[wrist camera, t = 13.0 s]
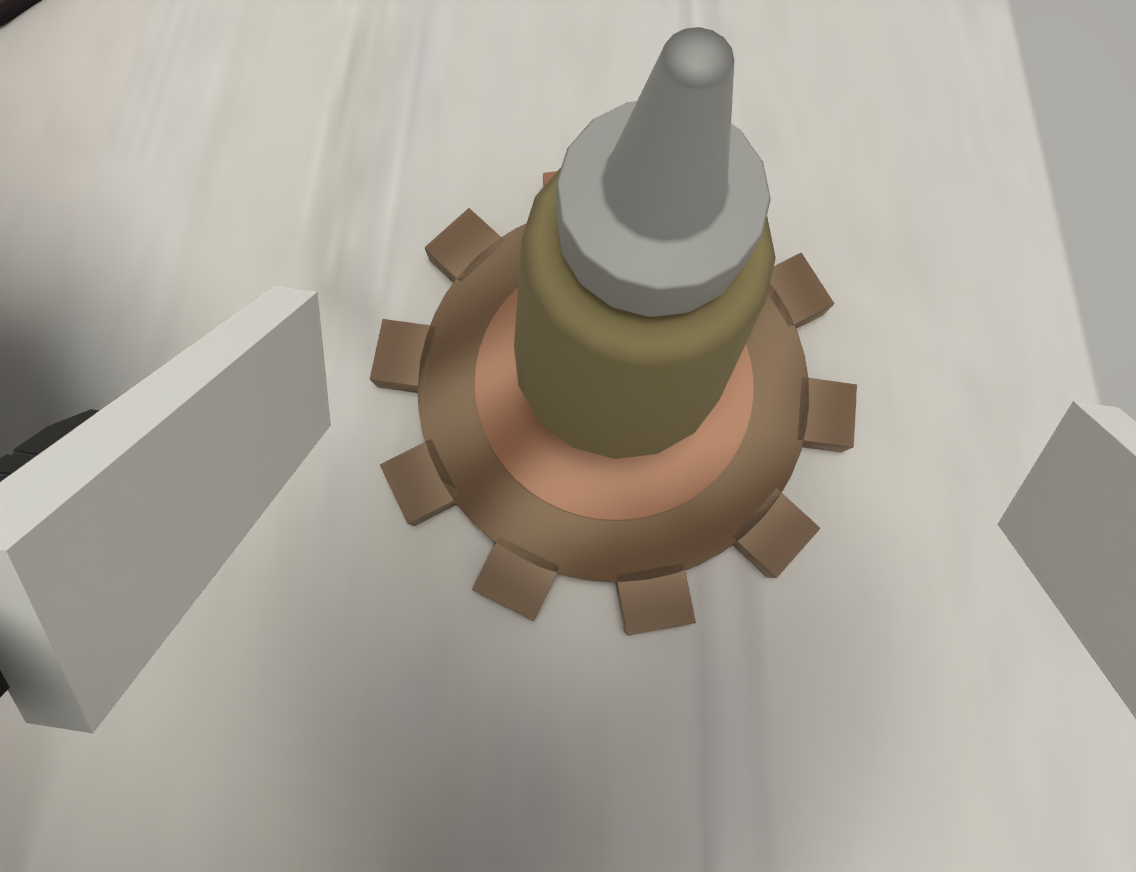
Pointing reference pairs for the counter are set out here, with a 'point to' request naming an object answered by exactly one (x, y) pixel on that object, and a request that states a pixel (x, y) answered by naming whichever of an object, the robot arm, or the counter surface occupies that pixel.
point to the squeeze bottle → (645, 262)
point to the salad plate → (13, 9)
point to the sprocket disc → (594, 482)
